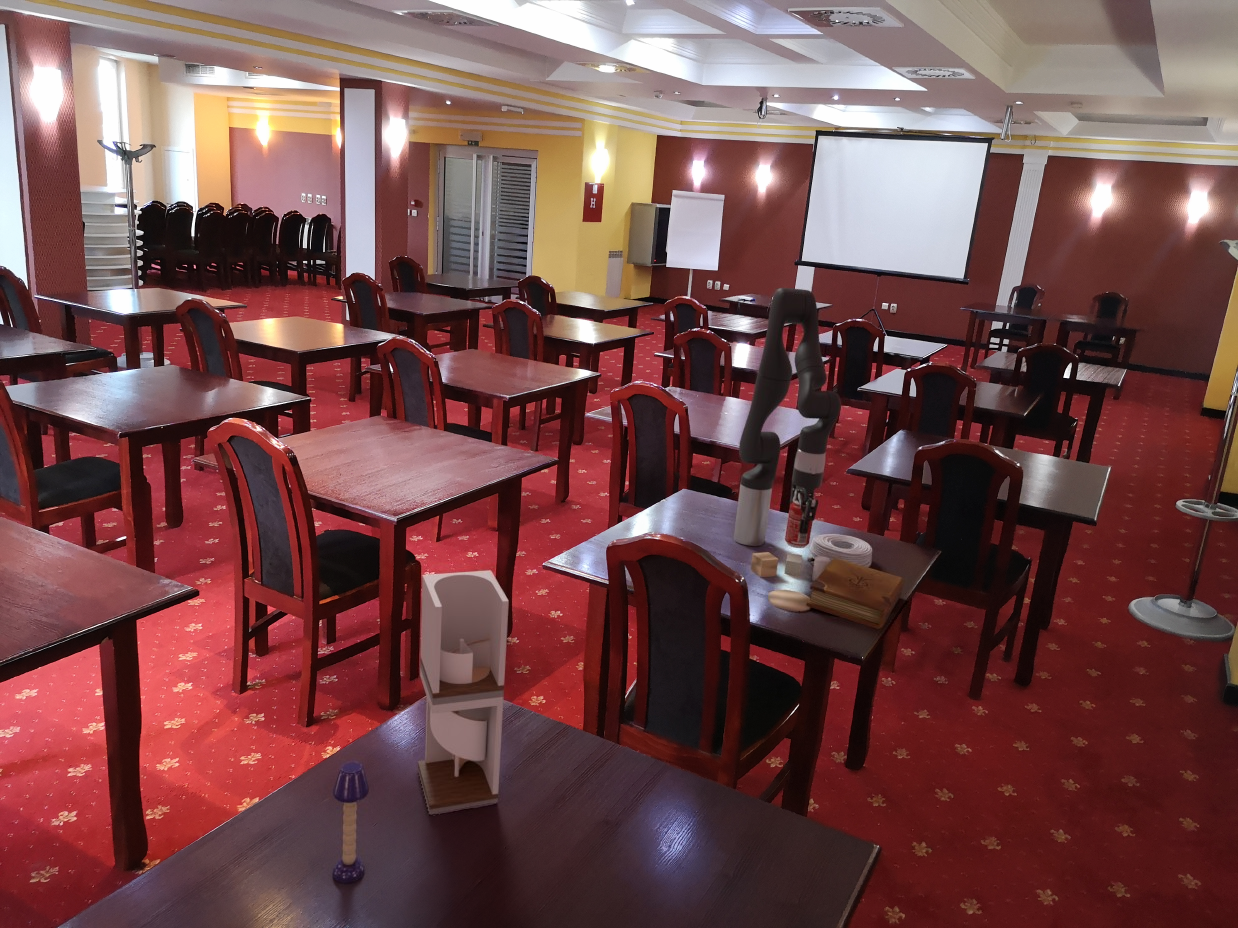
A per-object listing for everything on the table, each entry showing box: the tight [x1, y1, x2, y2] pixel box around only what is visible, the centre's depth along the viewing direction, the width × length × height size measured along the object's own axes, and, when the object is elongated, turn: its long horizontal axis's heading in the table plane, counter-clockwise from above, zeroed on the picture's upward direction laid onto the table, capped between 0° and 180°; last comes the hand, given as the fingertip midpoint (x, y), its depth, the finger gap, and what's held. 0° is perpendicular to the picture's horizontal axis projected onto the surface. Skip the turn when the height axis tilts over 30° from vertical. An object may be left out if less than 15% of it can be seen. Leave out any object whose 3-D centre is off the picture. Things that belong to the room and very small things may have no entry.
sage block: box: [784, 552, 803, 577], centre depth 244 cm, size 6×4×4 cm, turn 166°
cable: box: [806, 533, 873, 568], centre depth 255 cm, size 18×18×6 cm
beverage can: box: [784, 499, 814, 549], centre depth 232 cm, size 6×6×12 cm
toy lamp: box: [332, 761, 370, 884], centre depth 122 cm, size 5×5×17 cm
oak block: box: [750, 551, 779, 578], centre depth 241 cm, size 5×5×5 cm
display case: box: [417, 570, 509, 815], centre depth 139 cm, size 11×11×35 cm
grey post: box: [811, 556, 830, 582], centre depth 240 cm, size 4×4×6 cm
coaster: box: [767, 589, 812, 613], centre depth 225 cm, size 11×11×1 cm
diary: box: [806, 558, 905, 630], centre depth 226 cm, size 23×19×6 cm
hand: (798, 528), depth 233 cm, fingers closed on beverage can, 6 cm apart
